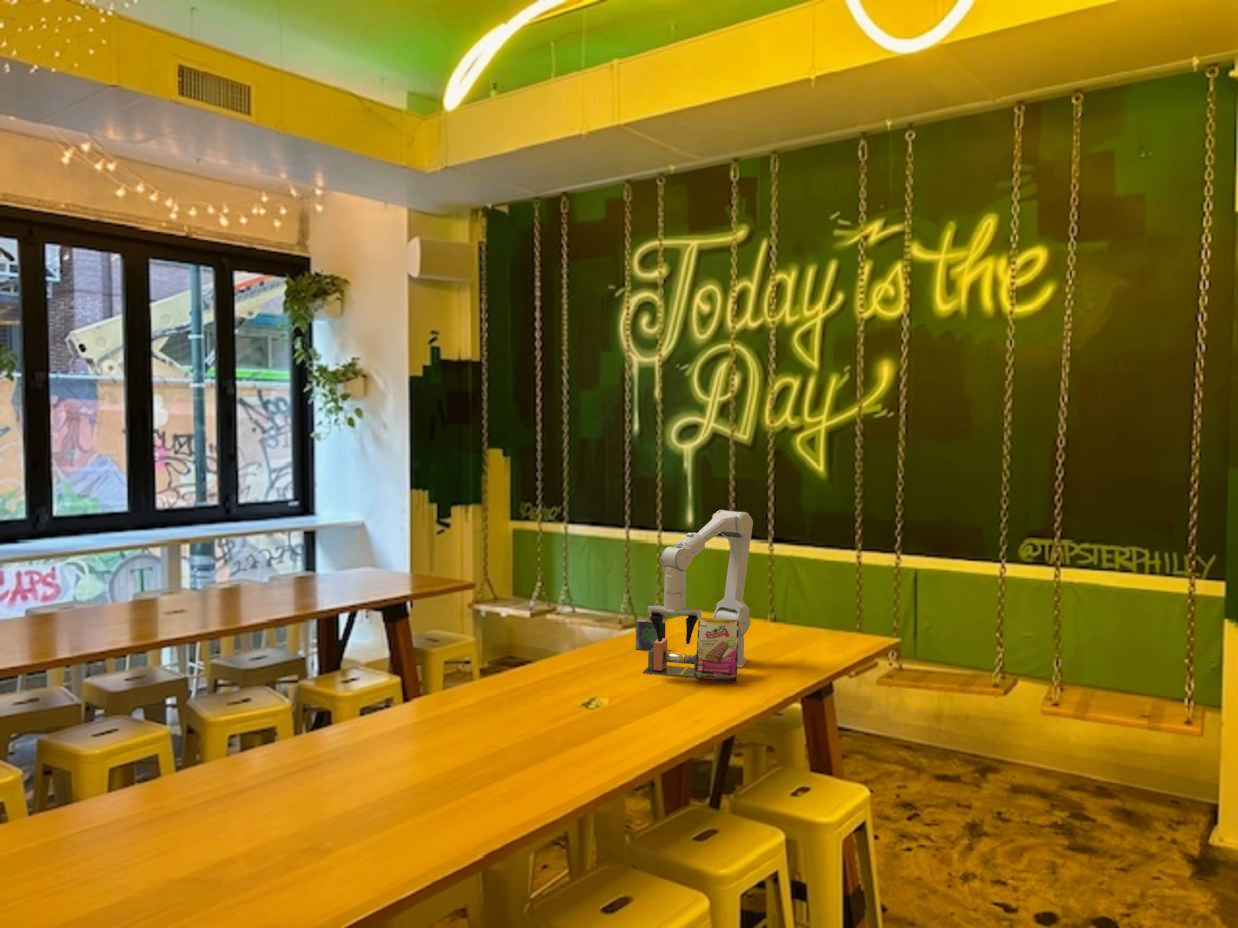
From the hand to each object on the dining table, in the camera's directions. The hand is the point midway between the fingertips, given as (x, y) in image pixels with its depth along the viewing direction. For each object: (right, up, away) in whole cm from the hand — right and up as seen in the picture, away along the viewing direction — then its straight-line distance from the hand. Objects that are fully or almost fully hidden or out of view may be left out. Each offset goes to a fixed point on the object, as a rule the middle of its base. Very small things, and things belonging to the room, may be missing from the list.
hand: (674, 642), depth 250 cm
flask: (-5, -9, +32) cm, 34 cm away
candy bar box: (+11, -9, -4) cm, 15 cm away
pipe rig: (+1, -10, +8) cm, 12 cm away
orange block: (-3, -10, +9) cm, 13 cm away
